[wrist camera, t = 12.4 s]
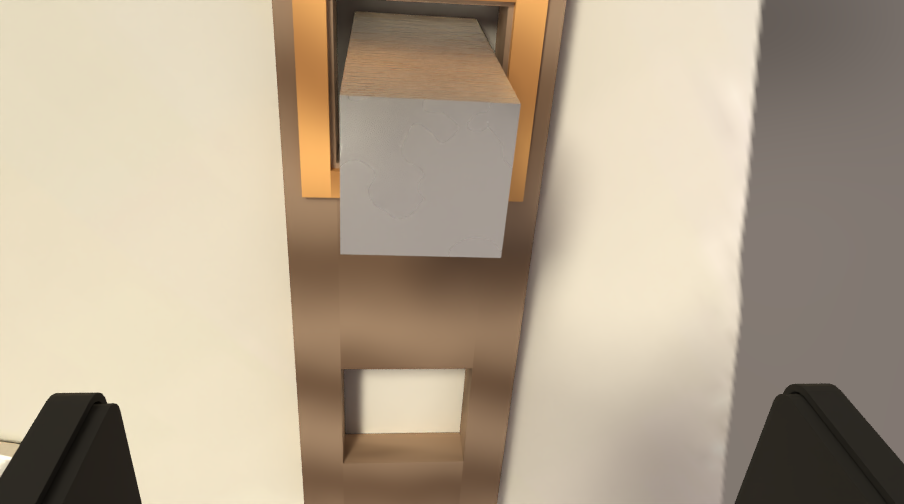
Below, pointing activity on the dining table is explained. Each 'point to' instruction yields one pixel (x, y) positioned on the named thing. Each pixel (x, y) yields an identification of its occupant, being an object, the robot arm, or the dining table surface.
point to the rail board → (403, 278)
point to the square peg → (424, 138)
